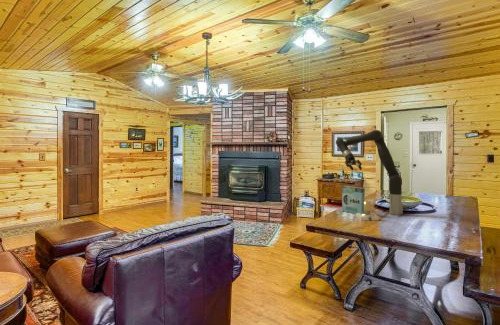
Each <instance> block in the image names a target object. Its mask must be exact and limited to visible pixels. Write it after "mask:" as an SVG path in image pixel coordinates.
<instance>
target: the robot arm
mask: <svg viewBox="0 0 500 325" xmlns="http://www.w3.org/2000/svg"><path fill="white" fill-rule="evenodd" d="M369 141H370V142H374V143H375V145H376V149H377V153H378V154H377V155H378V158H379V160H380V162H381V164H382V165H383V167H384V169H385V171H386V172H387V175H388V178H389V182H388V183H389V185H388V186H389V188H388V189H389V190H388V191H389V214H390V215H395V216H396V215H397V216H400V215H403V213H404V212H403V207H404V204H403V201H402V197H403V196H402V195H403V194H402V193H403V192H402V189H403V188H402V185H403V184H402V180H403V179H402V177H401V175H400V174H399V172H398V171H397V168H396V165H395V162H394V159H393V157H392V154H391V152H390V150H389V148H388V146H387V144H386V142H385V139H384V136H383V133H382V131H381V130H377V129H375V130H374V129H373V130H372V131H370V132H367V133H364V134H360V135H354V136H349V137H346V140H344V139H342V138H341V137H339V138H337V139H336V140H335V144H336V146H337V147H338V149H339V150H340V153H341V154H342V155H343V158H344V159H345V161H344V164H345V166H346V167H347V168H349V169H350V171H354V167H353V166H355V167H357V168H358V170H360V171H361V170H362V169H363V168H362V162H361V161H360V159H356V158H355V156H354V154H353V152H352V150H350V147H349V146H352V145H356V144H360V143H364V142H369Z"/></svg>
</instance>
